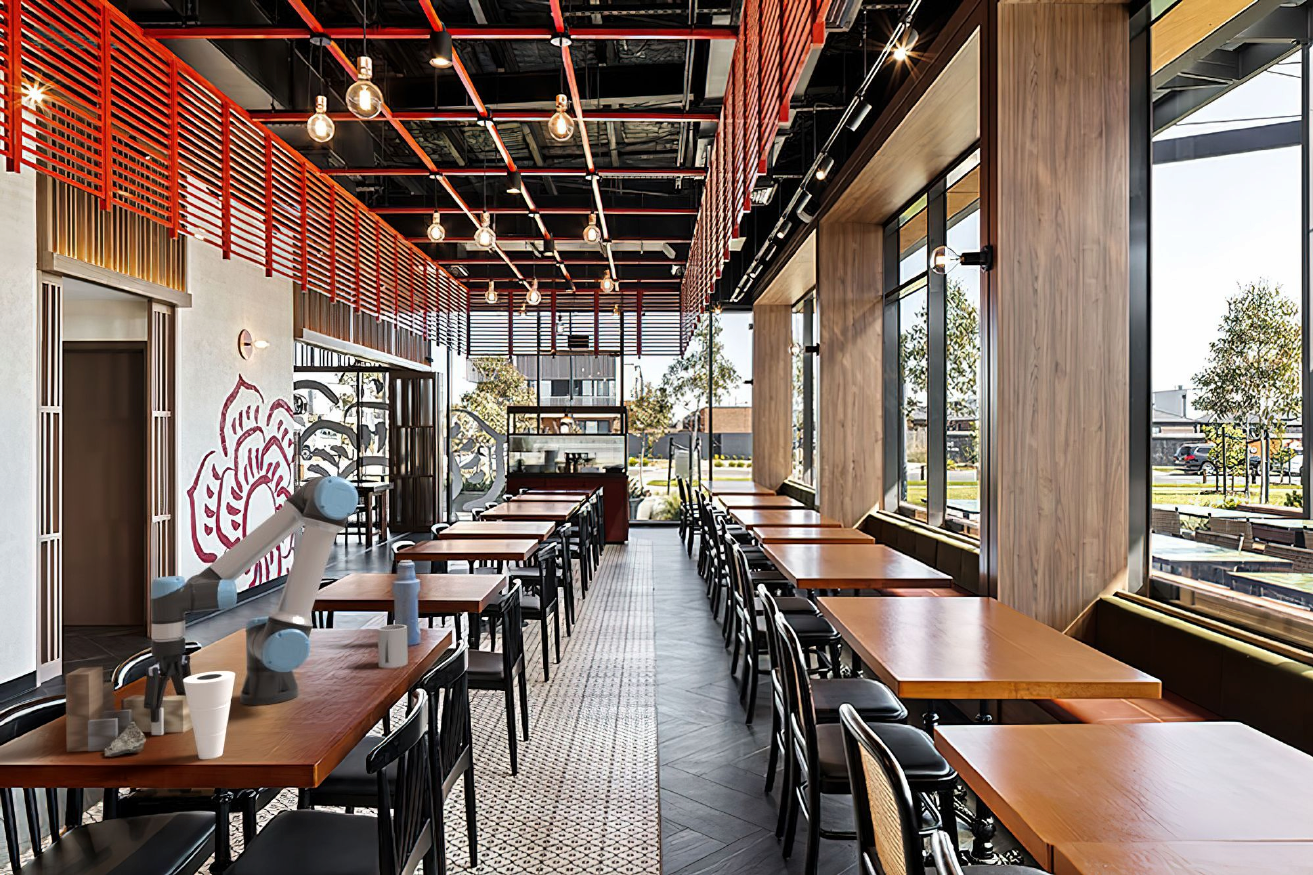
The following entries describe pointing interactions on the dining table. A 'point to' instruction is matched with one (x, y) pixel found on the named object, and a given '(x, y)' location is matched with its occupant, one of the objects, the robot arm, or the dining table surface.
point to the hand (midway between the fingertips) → (169, 728)
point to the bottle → (407, 600)
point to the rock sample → (127, 742)
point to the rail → (174, 713)
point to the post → (92, 711)
